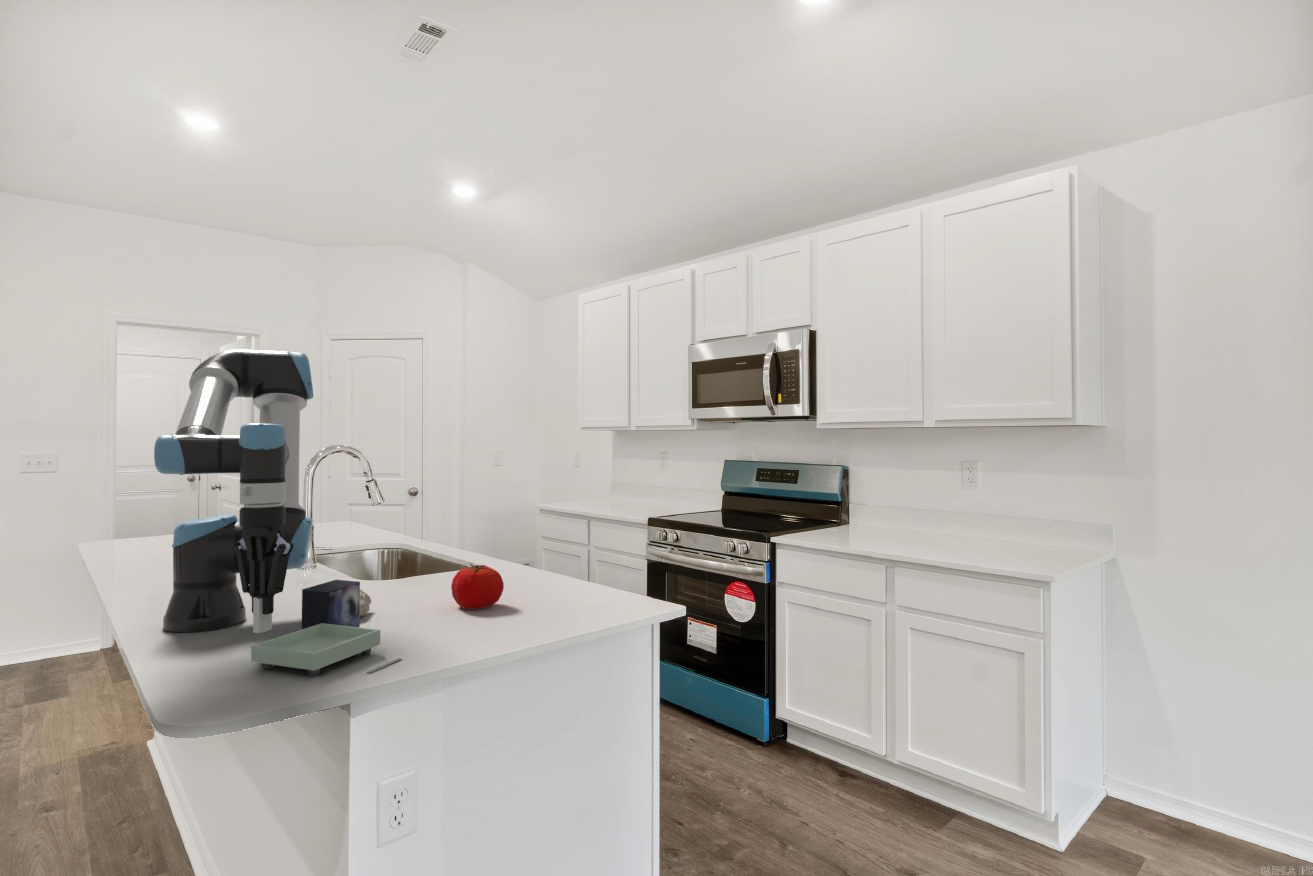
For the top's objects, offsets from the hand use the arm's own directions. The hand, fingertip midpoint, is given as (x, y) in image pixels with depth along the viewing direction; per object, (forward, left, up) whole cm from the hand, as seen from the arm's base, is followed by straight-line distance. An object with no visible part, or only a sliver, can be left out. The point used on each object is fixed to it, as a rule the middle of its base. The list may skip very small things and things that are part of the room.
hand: (262, 631), depth 128 cm
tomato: (+17, +44, -5) cm, 48 cm away
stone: (-5, +26, -5) cm, 27 cm away
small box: (+2, +14, -5) cm, 15 cm away
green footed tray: (+13, 0, -4) cm, 14 cm away
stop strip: (+26, +2, -4) cm, 27 cm away
